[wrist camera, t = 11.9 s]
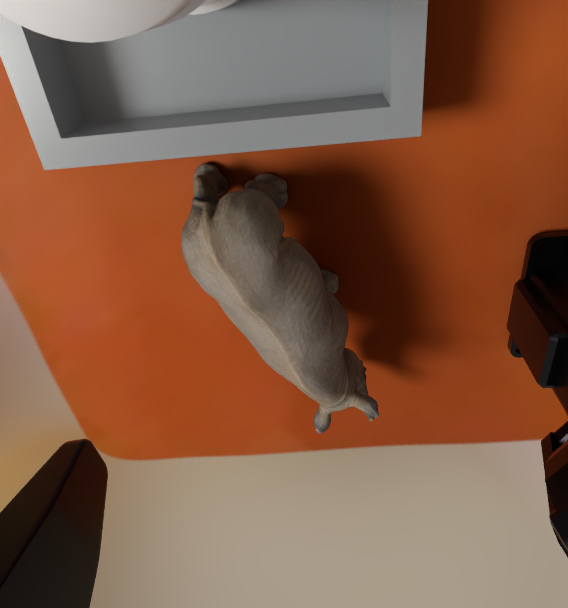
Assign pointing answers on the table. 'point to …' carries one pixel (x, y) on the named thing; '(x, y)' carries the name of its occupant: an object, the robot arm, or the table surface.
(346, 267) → the table surface
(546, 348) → the robot arm
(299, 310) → the rhino figurine
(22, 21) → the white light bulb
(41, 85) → the parts tray
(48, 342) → the table surface
